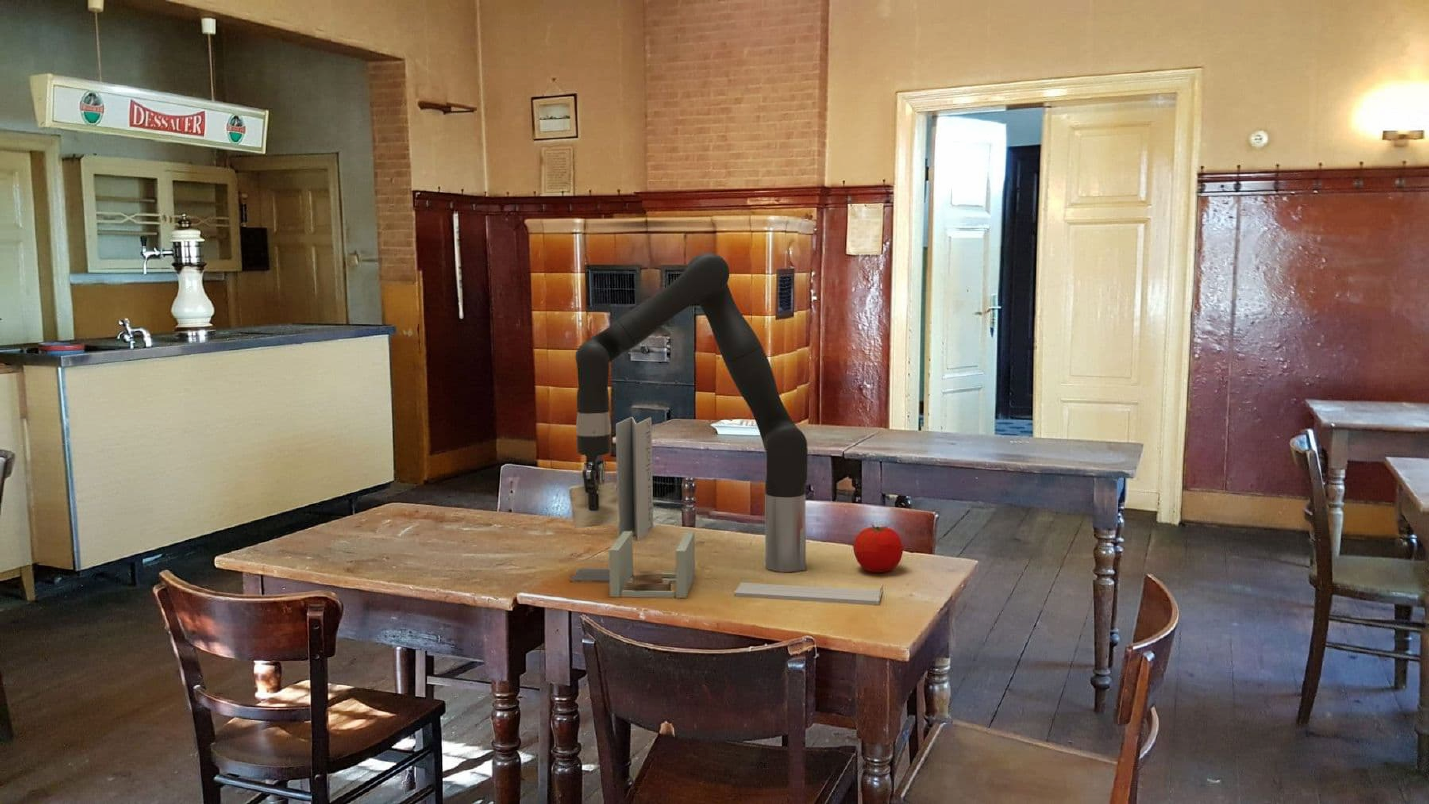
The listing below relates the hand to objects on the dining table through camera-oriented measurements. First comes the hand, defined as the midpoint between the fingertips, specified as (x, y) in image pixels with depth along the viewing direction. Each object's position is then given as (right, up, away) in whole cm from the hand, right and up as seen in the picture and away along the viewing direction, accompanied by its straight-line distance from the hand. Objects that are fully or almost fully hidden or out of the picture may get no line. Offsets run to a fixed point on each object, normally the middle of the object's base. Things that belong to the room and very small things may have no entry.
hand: (595, 508), depth 231 cm
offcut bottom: (+13, -17, -12) cm, 24 cm away
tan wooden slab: (0, -4, 0) cm, 4 cm away
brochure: (+6, -11, +41) cm, 43 cm away
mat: (0, -15, +2) cm, 15 cm away
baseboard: (+46, -17, -13) cm, 51 cm away
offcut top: (+12, -14, -13) cm, 23 cm away
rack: (+13, -16, -6) cm, 22 cm away
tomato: (+64, -15, +4) cm, 66 cm away
